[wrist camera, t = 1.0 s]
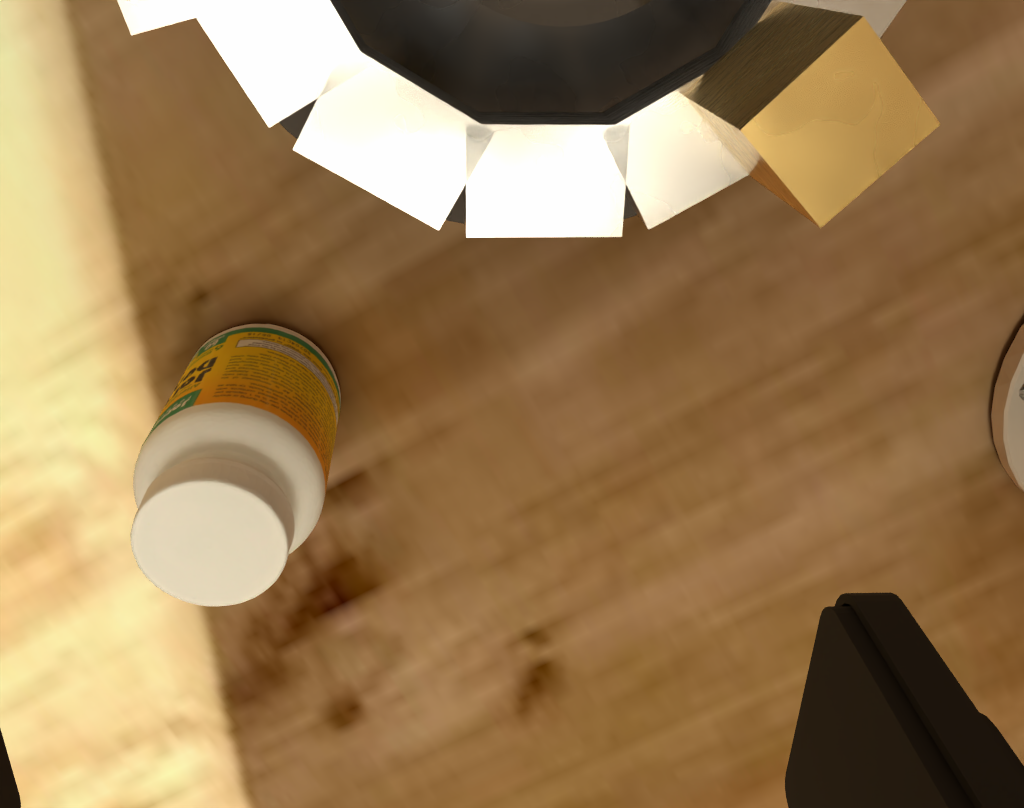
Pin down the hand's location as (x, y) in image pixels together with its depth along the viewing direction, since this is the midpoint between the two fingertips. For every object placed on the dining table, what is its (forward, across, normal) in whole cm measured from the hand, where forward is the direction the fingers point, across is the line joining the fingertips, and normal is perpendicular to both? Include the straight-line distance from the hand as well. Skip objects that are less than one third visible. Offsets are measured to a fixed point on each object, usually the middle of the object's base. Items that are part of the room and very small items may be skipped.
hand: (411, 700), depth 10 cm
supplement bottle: (+22, +6, +7) cm, 24 cm away
